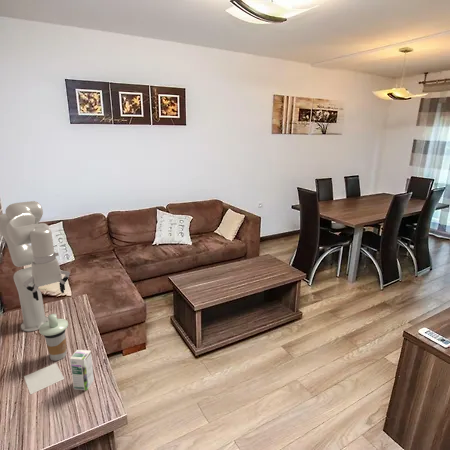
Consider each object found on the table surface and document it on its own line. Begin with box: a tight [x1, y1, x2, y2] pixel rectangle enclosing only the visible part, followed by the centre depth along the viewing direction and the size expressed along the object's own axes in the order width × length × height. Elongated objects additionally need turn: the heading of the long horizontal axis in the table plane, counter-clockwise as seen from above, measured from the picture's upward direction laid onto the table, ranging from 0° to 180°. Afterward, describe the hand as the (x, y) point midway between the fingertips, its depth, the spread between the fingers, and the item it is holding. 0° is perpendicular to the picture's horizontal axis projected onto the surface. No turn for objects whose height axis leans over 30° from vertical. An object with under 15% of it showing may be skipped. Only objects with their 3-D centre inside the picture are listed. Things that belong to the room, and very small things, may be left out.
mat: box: [23, 362, 65, 396], centre depth 123 cm, size 12×12×1 cm
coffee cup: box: [43, 329, 67, 362], centre depth 134 cm, size 8×8×15 cm
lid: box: [38, 313, 69, 337], centre depth 131 cm, size 11×11×6 cm
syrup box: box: [69, 349, 95, 391], centre depth 119 cm, size 6×6×14 cm
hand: (49, 295), depth 128 cm, fingers open, 9 cm apart
